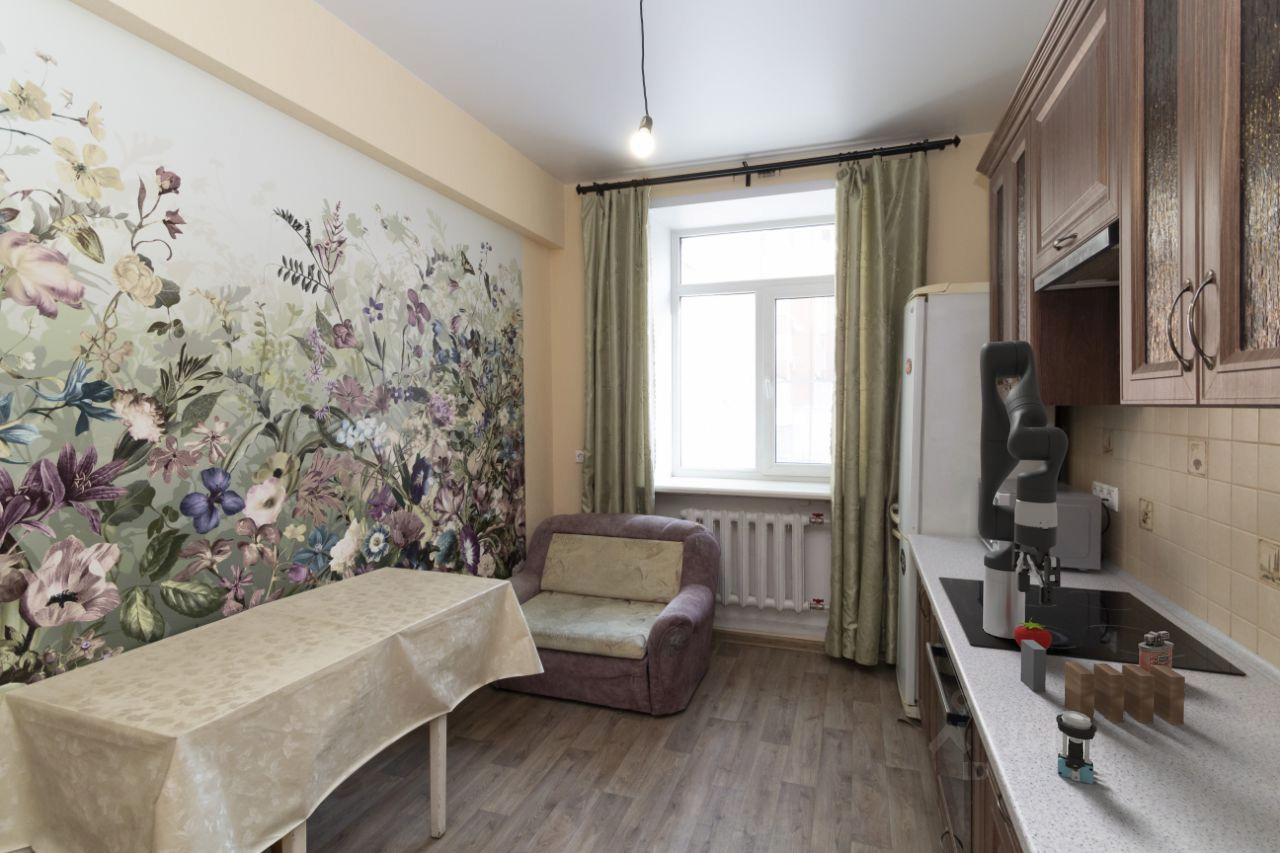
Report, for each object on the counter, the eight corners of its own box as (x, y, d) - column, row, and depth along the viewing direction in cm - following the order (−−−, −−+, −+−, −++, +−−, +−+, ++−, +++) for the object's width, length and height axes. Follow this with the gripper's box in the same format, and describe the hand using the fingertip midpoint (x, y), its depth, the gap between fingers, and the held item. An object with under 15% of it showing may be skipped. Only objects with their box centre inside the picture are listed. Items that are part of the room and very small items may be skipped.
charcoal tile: (1033, 691, 126) (1033, 649, 125) (1020, 680, 131) (1021, 639, 130) (1045, 692, 126) (1046, 649, 125) (1032, 680, 130) (1033, 639, 130)
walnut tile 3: (1109, 721, 114) (1110, 674, 114) (1092, 707, 119) (1093, 663, 119) (1123, 722, 114) (1124, 675, 113) (1105, 708, 119) (1106, 663, 118)
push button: (1105, 776, 98) (1106, 716, 97) (1107, 794, 93) (1108, 731, 93) (1055, 763, 101) (1056, 704, 101) (1055, 779, 97) (1056, 718, 97)
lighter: (1149, 684, 128) (1151, 637, 128) (1133, 676, 132) (1134, 631, 131) (1177, 678, 131) (1178, 633, 130) (1160, 672, 134) (1161, 627, 133)
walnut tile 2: (1139, 722, 113) (1140, 675, 113) (1121, 709, 118) (1122, 664, 118) (1153, 723, 113) (1154, 676, 113) (1134, 709, 118) (1135, 664, 118)
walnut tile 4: (1080, 720, 115) (1080, 673, 114) (1064, 706, 120) (1065, 662, 119) (1093, 720, 114) (1094, 674, 114) (1077, 707, 119) (1078, 662, 119)
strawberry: (1052, 667, 137) (1053, 623, 136) (1013, 660, 141) (1014, 618, 140) (1050, 657, 142) (1051, 615, 141) (1013, 650, 146) (1013, 610, 145)
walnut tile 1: (1169, 723, 113) (1170, 676, 112) (1149, 710, 118) (1151, 664, 117) (1183, 724, 113) (1184, 677, 112) (1163, 710, 118) (1164, 665, 117)
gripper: (1000, 515, 134) (999, 587, 135) (1035, 529, 120) (1033, 609, 121) (1036, 515, 133) (1034, 588, 134) (1075, 529, 119) (1073, 610, 120)
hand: (1034, 598), depth 127 cm, fingers open, 8 cm apart
